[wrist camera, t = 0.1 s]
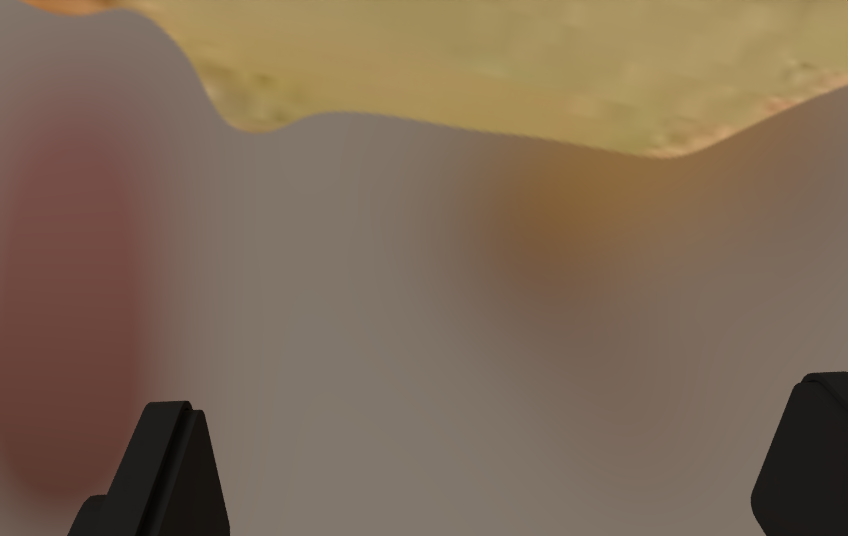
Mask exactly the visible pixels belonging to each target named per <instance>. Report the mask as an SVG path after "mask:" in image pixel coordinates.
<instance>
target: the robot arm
mask: <svg viewBox="0 0 848 536" xmlns="http://www.w3.org/2000/svg"><path fill="white" fill-rule="evenodd" d="M751 507H752V511H753V514H754V516H755V518H756V520H757V521H758V523H759V524H760V526H761V528H762V529H763V531H764V533H765V534H766V536H848V372H823V373H810V374H807V375H806V376H805V377H804V378H803V380H802V381H801V383H798V384H796V385H795V386H794V388H793V390H792V393H791V395H790V398H789V400H788V403H787V405H786V408H785V410H784V413H783V416H782V418H781V420H780V423H779V426H778V428H777V431H776V433H775V436H774V438H773V441H772V443H771V446H770V449H769V451H768V453H767V456H766V459H765V461H764V464H763V466H762V469H761V471H760V474H759V476H758V479H757V481H756V484H755V486H754V489H753V491H752V495H751ZM67 536H230V526H229V520H228V516H227V511H226V507H225V502H224V498H223V494H222V489H221V485H220V480H219V476H218V471H217V467H216V463H215V458H214V454H213V449H212V445H211V440H210V436H209V431H208V427H207V423H206V419H205V414H204V412H203V411H202V410H193V409H192V406H191V404H190V402H189V401H169V402H150V403H148V404H147V405H146V407H145V408H144V410H143V412H142V415H141V417H140V420H139V422H138V424H137V426H136V429H135V431H134V433H133V435H132V438H131V440H130V442H129V445H128V447H127V449H126V452H125V454H124V457H123V459H122V461H121V464H120V466H119V468H118V470H117V473H116V475H115V477H114V479H113V482H112V484H111V487H110V489H109V491H108V493H107V495H95V496H90V497H89V498H88V499H87V500H86V501H85V502H84V503H83V505H82V507H81V509H80V510H79V512H78V514H77V516H76V518H75V520H74V522H73V524H72V527H71V529H70V531H69V533H68V535H67Z"/></svg>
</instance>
